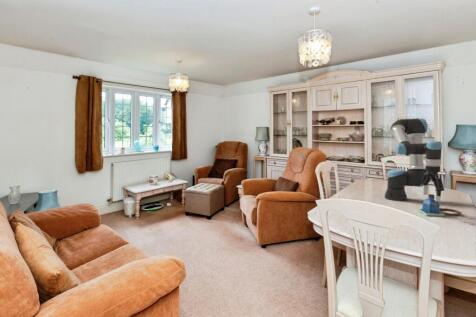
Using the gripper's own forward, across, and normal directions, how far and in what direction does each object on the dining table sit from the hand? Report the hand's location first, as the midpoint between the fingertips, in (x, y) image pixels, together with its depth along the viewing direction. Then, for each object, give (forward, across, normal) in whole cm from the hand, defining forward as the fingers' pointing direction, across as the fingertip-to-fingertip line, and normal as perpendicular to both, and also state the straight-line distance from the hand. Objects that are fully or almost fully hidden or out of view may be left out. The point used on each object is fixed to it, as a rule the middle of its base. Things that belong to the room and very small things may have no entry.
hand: (431, 197), depth 159 cm
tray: (+10, +1, 0) cm, 10 cm away
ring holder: (+10, -1, +11) cm, 15 cm away
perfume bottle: (+10, +1, 0) cm, 10 cm away
